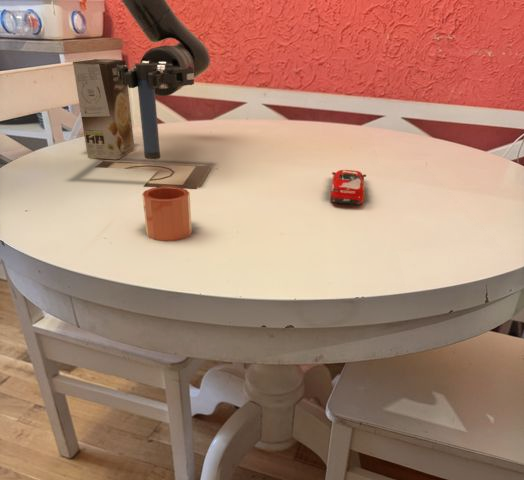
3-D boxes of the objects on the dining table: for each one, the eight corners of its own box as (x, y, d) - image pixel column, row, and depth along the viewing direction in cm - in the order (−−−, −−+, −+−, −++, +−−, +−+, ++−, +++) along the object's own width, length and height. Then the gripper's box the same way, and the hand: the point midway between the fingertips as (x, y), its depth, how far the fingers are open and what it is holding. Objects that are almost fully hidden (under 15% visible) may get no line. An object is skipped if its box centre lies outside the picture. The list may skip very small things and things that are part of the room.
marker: (142, 159, 85) (132, 64, 77) (146, 155, 87) (137, 62, 79) (158, 159, 85) (150, 65, 77) (162, 156, 87) (154, 63, 79)
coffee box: (119, 160, 95) (106, 63, 86) (86, 158, 96) (70, 61, 86) (135, 149, 102) (125, 59, 93) (105, 147, 103) (93, 57, 94)
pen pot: (142, 243, 62) (137, 199, 59) (153, 227, 67) (149, 185, 64) (186, 245, 62) (183, 201, 59) (195, 229, 66) (193, 187, 63)
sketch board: (74, 185, 81) (73, 180, 80) (103, 164, 92) (102, 159, 92) (196, 192, 80) (196, 187, 79) (210, 169, 91) (210, 164, 91)
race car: (332, 183, 86) (334, 159, 84) (363, 186, 85) (367, 161, 83) (326, 207, 75) (329, 180, 73) (362, 210, 75) (366, 183, 72)
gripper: (125, 44, 89) (91, 50, 75) (203, 47, 88) (183, 54, 74) (131, 91, 93) (99, 105, 79) (205, 94, 93) (186, 109, 78)
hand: (140, 80), depth 77 cm, fingers closed on marker, 2 cm apart
